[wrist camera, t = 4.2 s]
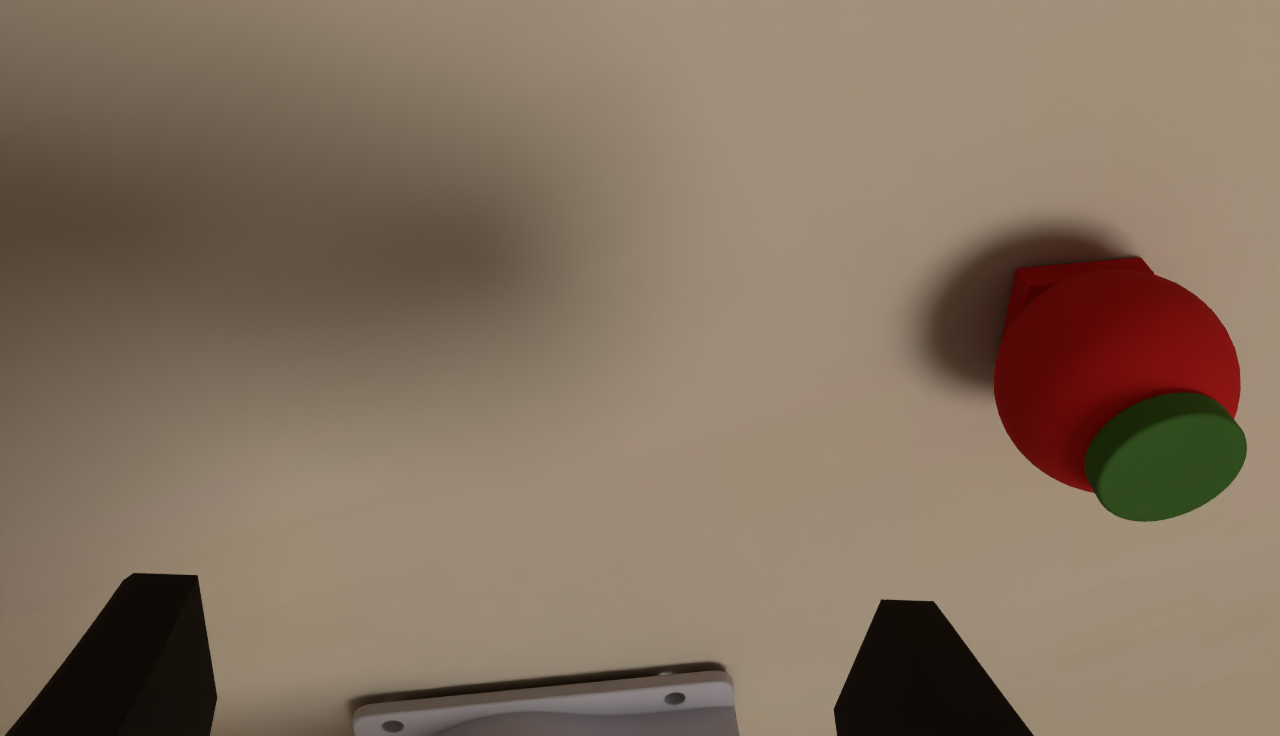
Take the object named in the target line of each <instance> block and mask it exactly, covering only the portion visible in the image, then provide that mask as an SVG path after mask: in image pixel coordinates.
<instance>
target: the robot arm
mask: <svg viewBox="0 0 1280 736" xmlns="http://www.w3.org/2000/svg"><path fill="white" fill-rule="evenodd" d="M216 701H217V693H216V687H215V681H214V674H213V668H212V662H211V656H210V649H209V643H208V637H207V631H206V625H205V618H204V612H203V606H202V600H201V593H200V587H199V581H198V575H175V574H146V573H133V574H132V575H130V576H129V577H127V578H126V579H124V580H123V581H122V583H121V584H120V586H119V587H118V588H117V590H116V591H115V593H114V594H113V596H112V597H111V598H110V600H109V601H108V603H107V604H106V606H105V607H104V608H103V610H102V611H101V612H100V614H99V615H98V617H97V618H96V619H95V621H94V622H93V623H92V625H91V626H90V628H89V629H88V630H87V632H86V633H85V634H84V636H83V637H82V638H81V640H80V641H79V642H78V644H77V645H76V646H75V648H74V649H73V650H72V652H71V653H70V654H69V656H68V657H67V658H66V660H65V661H64V662H63V664H62V665H61V666H60V667H59V669H58V670H57V671H56V673H55V674H54V675H53V676H52V678H51V679H50V680H49V682H48V683H47V684H46V685H45V687H44V688H43V689H42V691H41V692H40V693H39V694H38V696H37V697H36V698H35V700H34V701H33V702H32V703H31V704H30V706H29V707H28V708H27V709H26V711H25V712H24V713H23V714H22V715H21V717H20V718H19V719H18V720H17V721H16V723H15V724H14V725H13V726H12V728H11V729H10V730H9V731H8V732H7V734H6V735H5V736H210V732H211V727H212V722H213V717H214V711H215V706H216ZM834 715H835V723H836V730H837V736H1034V735H1033V734H1032V733H1031V731H1030V730H1029V729H1028V727H1027V726H1026V725H1025V723H1024V722H1023V721H1022V719H1021V718H1020V717H1019V716H1018V714H1017V713H1016V711H1015V710H1014V709H1013V707H1012V706H1011V705H1010V703H1009V702H1008V701H1007V699H1006V698H1005V697H1004V695H1003V694H1002V693H1001V691H1000V690H999V689H998V687H997V686H996V685H995V683H994V682H993V681H992V679H991V678H990V677H989V675H988V674H987V673H986V671H985V670H984V668H983V667H982V666H981V664H980V663H979V662H978V660H977V659H976V658H975V656H974V655H973V654H972V652H971V651H970V649H969V648H968V647H967V645H966V644H965V643H964V641H963V640H962V639H961V637H960V636H959V634H958V633H957V632H956V630H955V629H954V628H953V626H952V625H951V624H950V622H949V621H948V620H947V618H946V617H945V616H944V614H943V613H942V612H941V610H940V609H939V608H938V606H937V605H936V604H935V603H934V601H909V600H881V602H880V604H879V606H878V608H877V611H876V613H875V615H874V618H873V620H872V622H871V625H870V627H869V629H868V631H867V634H866V636H865V638H864V641H863V643H862V645H861V648H860V650H859V652H858V654H857V657H856V659H855V661H854V664H853V666H852V668H851V671H850V673H849V675H848V677H847V680H846V682H845V684H844V687H843V689H842V691H841V694H840V696H839V698H838V700H837V703H836V705H835V707H834ZM352 729H353V732H354V734H355V736H739V731H738V725H737V719H736V713H735V707H734V686H733V681H732V678H731V676H730V675H729V674H727V673H725V672H722V671H714V670H712V671H702V672H692V673H681V674H671V675H661V676H651V677H640V678H630V679H620V680H610V681H599V682H589V683H579V684H569V685H559V686H548V687H538V688H528V689H518V690H507V691H497V692H487V693H477V694H467V695H456V696H446V697H436V698H426V699H415V700H405V701H395V702H385V703H374V704H368V705H364V706H362V707H360V708H358V709H357V710H356V711H355V713H354V716H353V722H352Z"/></svg>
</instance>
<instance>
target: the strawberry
mask: <svg viewBox="0 0 1280 736" xmlns="http://www.w3.org/2000/svg"><path fill="white" fill-rule="evenodd" d="M1240 390H1241V388H1240V367H1239V363H1238V359H1237V355H1236V351H1235V347H1234V345H1233V343H1232V341H1231V339H1230V337H1229V334H1228V332H1227V330H1226V328H1225V327H1224V325H1223V324H1222V323H1221V321H1220V320H1219V319H1218V317H1217V316H1216V315H1215V313H1214V312H1213V311H1212V310H1211V309H1210V308H1209V307H1208V306H1207V305H1206V304H1205V303H1204V302H1203V301H1202V300H1200V299H1199V298H1198V297H1197V296H1196V295H1194V294H1193V293H1191V292H1190V291H1188V290H1187V289H1185V288H1183V287H1182V286H1180V285H1178V284H1177V283H1174V282H1172V281H1170V280H1167V279H1165V278H1162V277H1159V276H1157V275H1154V272H1153V271H1152V270H1151V269H1150V268H1149V266H1148V265H1147V264H1146V263H1145V262H1144V260H1143V259H1142V258H1139V257H1138V258H1126V259H1115V260H1103V261H1092V262H1080V263H1069V264H1058V265H1046V266H1035V267H1023V268H1017V269H1016V270H1015V275H1014V280H1013V285H1012V290H1011V295H1010V300H1009V305H1008V310H1007V315H1006V320H1005V325H1004V330H1003V335H1002V340H1001V344H1000V347H999V350H998V354H997V358H996V362H995V368H994V395H995V400H996V405H997V409H998V413H999V416H1000V418H1001V421H1002V423H1003V425H1004V428H1005V430H1006V432H1007V434H1008V435H1009V437H1010V438H1011V440H1012V441H1013V443H1014V444H1015V446H1016V447H1017V448H1018V450H1019V451H1020V452H1021V453H1022V454H1023V455H1024V456H1025V457H1026V458H1027V459H1028V460H1029V461H1030V462H1031V463H1032V464H1033V465H1035V466H1036V467H1037V468H1038V469H1040V470H1041V471H1042V472H1044V473H1045V474H1047V475H1049V476H1050V477H1052V478H1054V479H1056V480H1058V481H1060V482H1062V483H1064V484H1066V485H1068V486H1071V487H1074V488H1078V489H1081V490H1084V491H1088V492H1093V493H1095V494H1096V496H1097V498H1098V499H1099V501H1100V502H1101V504H1102V505H1103V506H1104V507H1105V508H1106V509H1107V510H1108V511H1110V512H1111V513H1113V514H1114V515H1116V516H1118V517H1121V518H1124V519H1127V520H1132V521H1144V522H1145V521H1158V520H1164V519H1169V518H1173V517H1176V516H1179V515H1182V514H1185V513H1187V512H1190V511H1192V510H1194V509H1196V508H1198V507H1200V506H1202V505H1204V504H1206V503H1207V502H1209V501H1210V500H1212V499H1213V498H1215V497H1216V496H1217V495H1219V494H1220V493H1221V492H1222V491H1223V490H1224V489H1225V488H1227V487H1228V486H1229V485H1230V483H1231V482H1232V481H1233V480H1234V479H1235V478H1236V476H1237V475H1238V473H1239V472H1240V470H1241V468H1242V466H1243V464H1244V461H1245V458H1246V452H1247V444H1246V439H1245V435H1244V433H1243V431H1242V429H1241V428H1240V427H1239V425H1238V424H1237V423H1236V422H1235V420H1234V418H1235V415H1236V412H1237V408H1238V403H1239V397H1240Z"/></svg>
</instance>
